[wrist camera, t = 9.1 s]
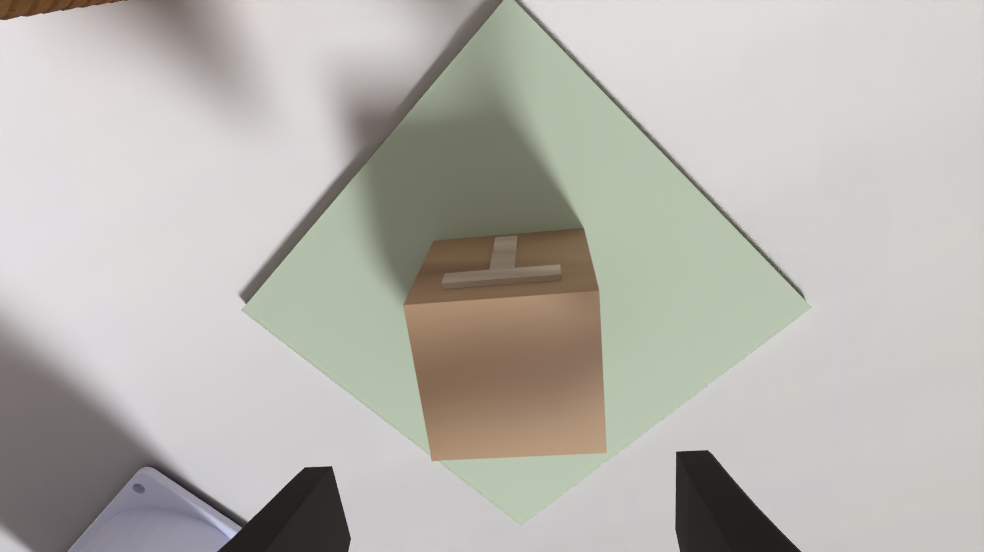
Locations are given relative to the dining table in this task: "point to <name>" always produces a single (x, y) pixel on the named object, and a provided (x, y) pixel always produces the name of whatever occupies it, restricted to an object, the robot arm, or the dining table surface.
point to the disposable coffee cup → (42, 6)
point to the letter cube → (509, 346)
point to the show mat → (524, 209)
